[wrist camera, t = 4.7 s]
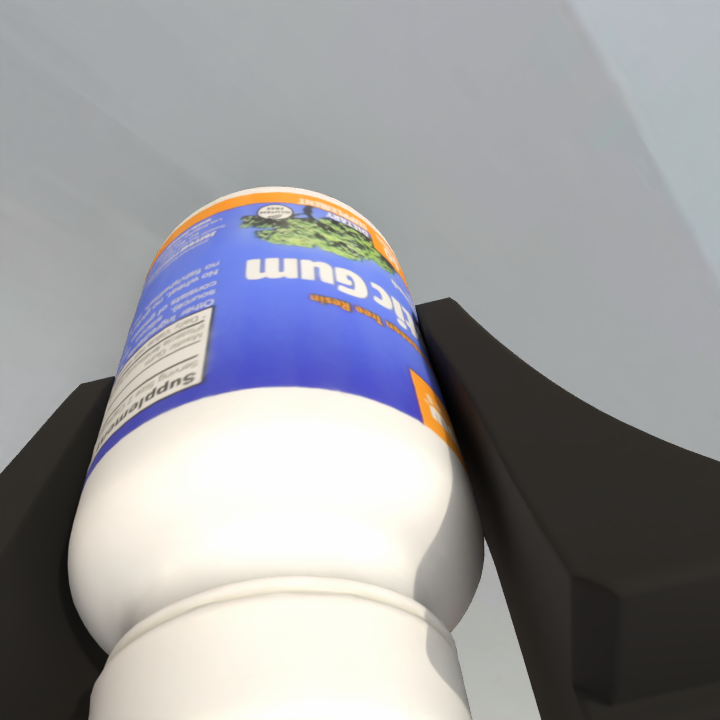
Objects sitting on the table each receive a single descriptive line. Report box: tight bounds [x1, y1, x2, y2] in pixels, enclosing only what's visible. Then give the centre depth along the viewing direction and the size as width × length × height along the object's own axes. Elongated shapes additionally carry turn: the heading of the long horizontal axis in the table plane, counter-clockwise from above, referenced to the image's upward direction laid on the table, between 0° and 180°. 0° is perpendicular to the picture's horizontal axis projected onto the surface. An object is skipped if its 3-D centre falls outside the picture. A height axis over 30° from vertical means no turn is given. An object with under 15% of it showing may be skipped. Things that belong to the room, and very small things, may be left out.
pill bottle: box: [68, 187, 484, 720], centre depth 10 cm, size 5×5×10 cm
